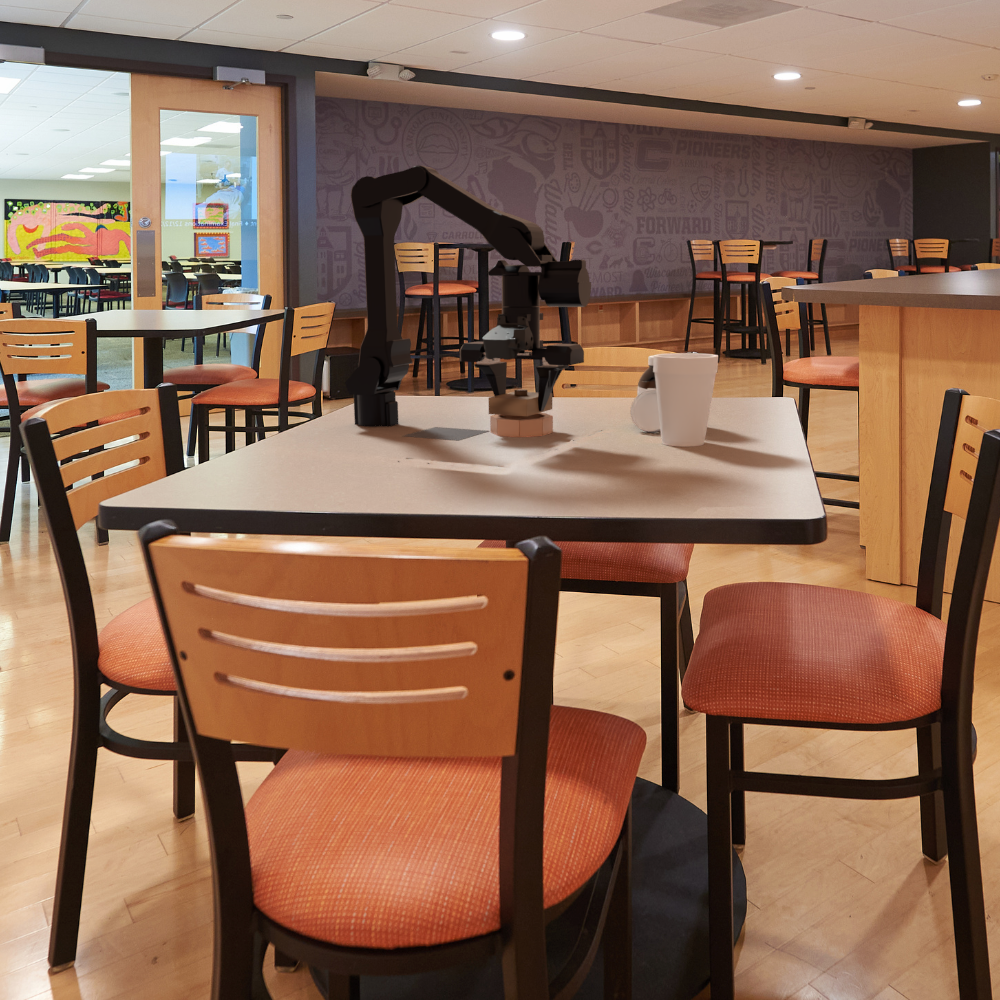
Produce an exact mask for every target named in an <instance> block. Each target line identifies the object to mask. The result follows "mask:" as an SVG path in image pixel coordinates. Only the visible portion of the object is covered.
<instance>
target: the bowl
mask: <svg viewBox="0 0 1000 1000" xmlns="http://www.w3.org/2000/svg"><path fill="white" fill-rule="evenodd" d="M489 416H490V417H489V419H490V430H489V431H490V433H491V434H494V435H496V436H497V437H499V436H500V437H511V438H512V437H513V438H527V437H528V438H529V437H543V436H546V435H549V434H551V433H552V434H553V433H554V432H553V431H554V429H553V428H554V420H553V419H554V418H553V417H554V415H551V414H548V413H547V412H546V413H545V412H541V413H537V414H534V415H530V416H512V415H496V414H491V415H489Z"/></svg>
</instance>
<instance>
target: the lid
mask: <svg viewBox="0 0 1000 1000" xmlns="http://www.w3.org/2000/svg"><path fill="white" fill-rule="evenodd" d="M551 410H553V393H552V392H551V394H550V396H549V399H548V401H547V404H546V406H545V408H544V410H543V411H539V407H538V391H537V392H534V391H528V389H514V391H511V392H508V393H507V392H506V394H502V395H498V396H490V397H488V415H495V414H496V415H512V416H530V415H534V414H537V413H545V412H547V411H551Z"/></svg>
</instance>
